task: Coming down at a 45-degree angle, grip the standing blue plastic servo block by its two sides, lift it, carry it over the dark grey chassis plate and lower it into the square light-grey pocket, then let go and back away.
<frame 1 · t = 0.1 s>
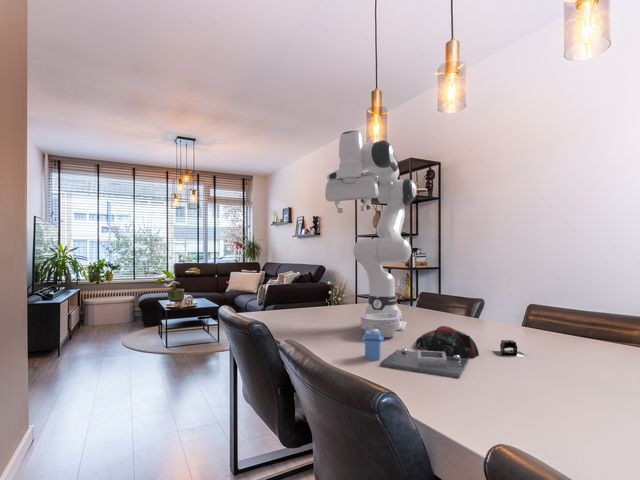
hand: (351, 212, 138), 48 cm above the table, tool pointing down, fingers open, 8 cm apart
chassis plate: (424, 363, 111), on the table
paper bowls: (380, 336, 149), on the table
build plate: (508, 355, 122), on the table
drone shell: (445, 350, 128), on the table
servo block: (373, 357, 118), on the table
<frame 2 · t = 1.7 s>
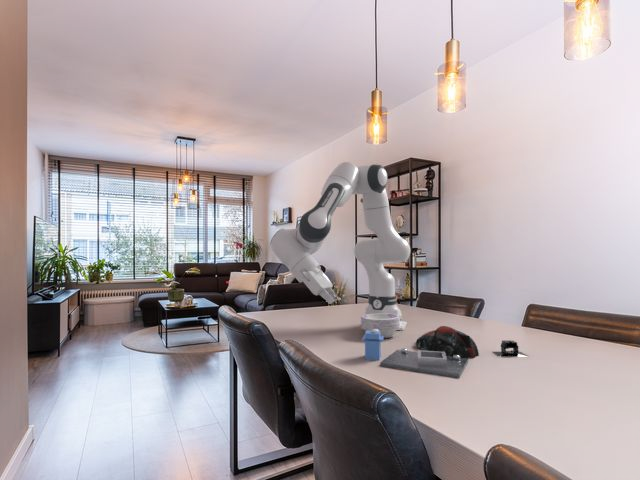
hand: (334, 301, 121), 17 cm above the table, tool tilted 45°, fingers open, 8 cm apart
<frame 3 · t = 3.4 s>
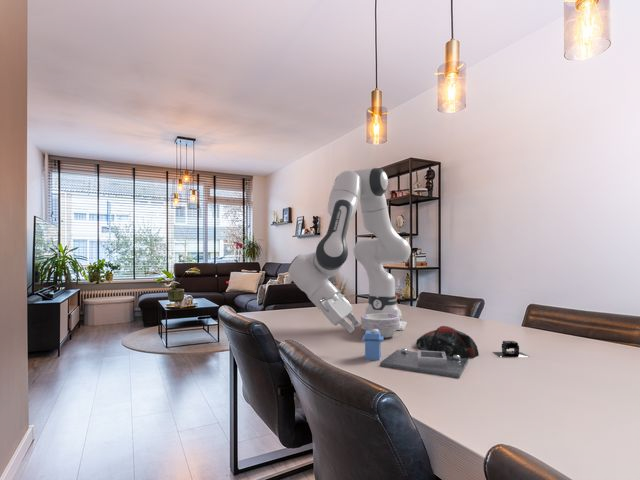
hand: (355, 328, 120), 9 cm above the table, tool tilted 45°, fingers open, 8 cm apart
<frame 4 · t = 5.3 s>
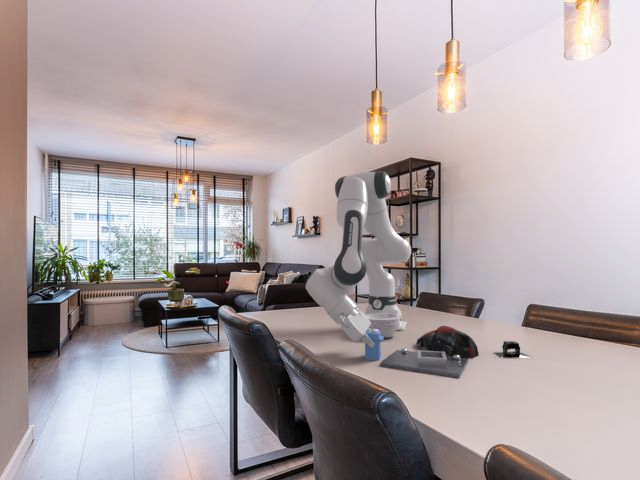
hand: (374, 343, 118), 4 cm above the table, tool tilted 45°, fingers closed on servo block, 4 cm apart
servo block: (373, 357, 118), on the table, touching gripper
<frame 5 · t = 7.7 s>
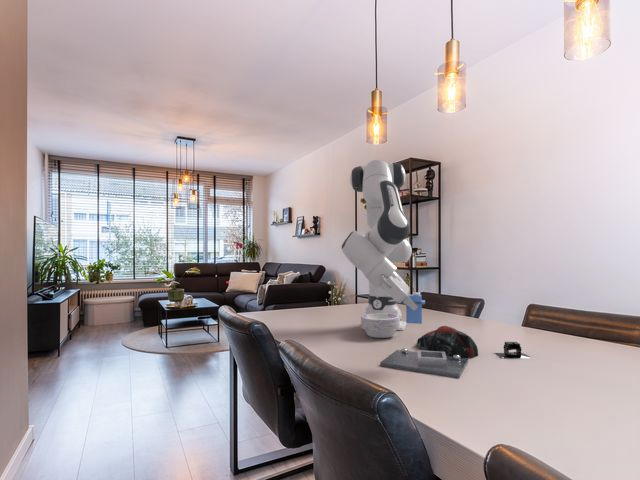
hand: (416, 307, 112), 17 cm above the table, tool tilted 45°, fingers closed on servo block, 4 cm apart
servo block: (414, 322, 112), point 12 cm above the table, touching gripper
when the fingers open (7 cm above the table, at t = 10.2 s): servo block drops 1 cm, resting on chassis plate.
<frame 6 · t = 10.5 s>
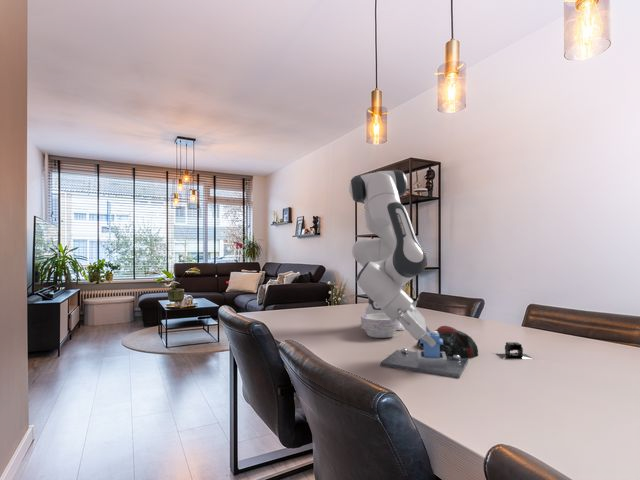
hand: (433, 341, 110), 7 cm above the table, tool tilted 45°, fingers open, 7 cm apart
servo block: (431, 361, 110), point 1 cm above the table, touching chassis plate
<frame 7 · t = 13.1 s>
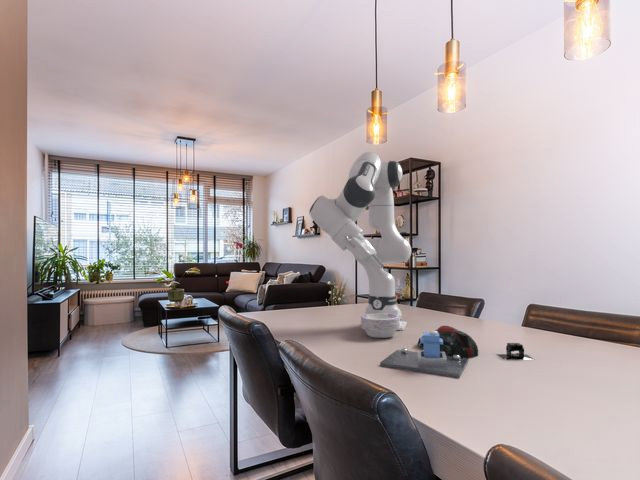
hand: (381, 268, 116), 28 cm above the table, tool tilted 45°, fingers open, 8 cm apart
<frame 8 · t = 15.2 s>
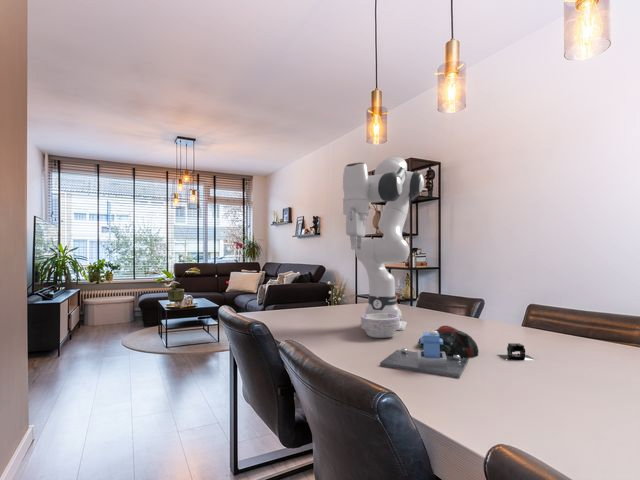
hand: (356, 249, 128), 34 cm above the table, tool pointing down, fingers open, 8 cm apart
at the end: servo block 0.0 cm from the target spot on the chassis plate, point 1.0 cm above the chassis plate's base; servo block tilted 0°; the gripper is holding nothing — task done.
